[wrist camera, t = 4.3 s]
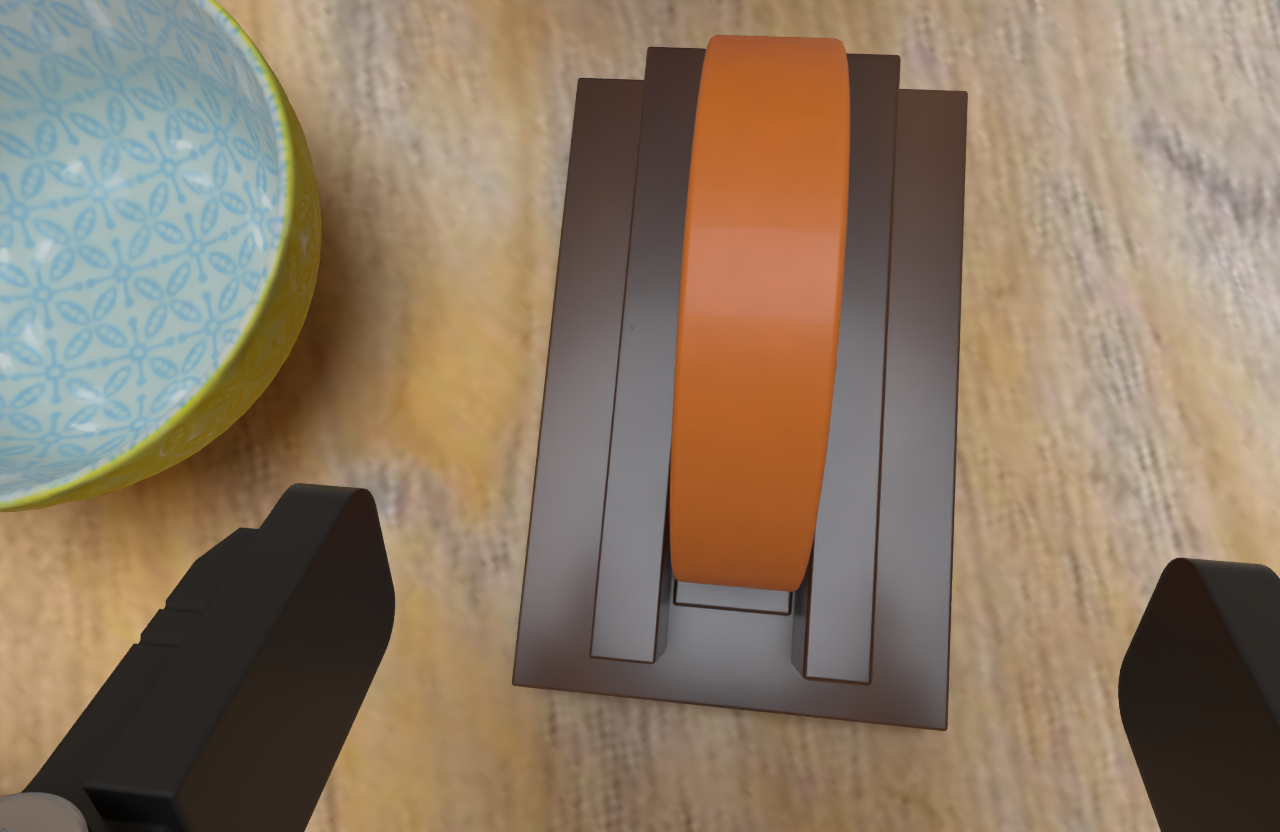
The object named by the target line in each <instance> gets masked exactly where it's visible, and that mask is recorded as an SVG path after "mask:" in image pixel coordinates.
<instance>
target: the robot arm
mask: <svg viewBox="0 0 1280 832" xmlns="http://www.w3.org/2000/svg"><path fill="white" fill-rule="evenodd" d="M394 615H395V592H394V586H393V582H392V577H391V573H390V568H389V564H388V559H387V554H386V550H385V545H384V541H383V536H382V531H381V527H380V522H379V518H378V513H377V508H376V504H375V501H374V498H373V496H372V494H371V493H370V492H369V491H368V490H367V489H363V488H351V487H339V486H327V485H314V484H302V483H298V484H294V485H292V486H290V487H289V488H288V489H287V490H286V491H285V492H284V494H283V495H282V496H281V498H280V499H279V501H278V502H277V504H276V505H275V507H274V508H273V509H272V511H271V512H270V514H269V515H268V517H267V518H266V520H265V521H264V523H263V524H262V525H261V527H260V528H259V529H250V528H239V529H237V530H236V531H235V532H233V533H232V534H231V535H229V536H228V537H227V538H225V539H224V540H223V541H221V542H220V543H219V544H217V545H216V546H214V547H213V548H212V549H210V550H209V551H208V552H206V553H205V554H204V555H202V556H201V557H200V558H198V559H197V560H196V561H195V562H194V563H193V565H192V566H191V567H190V569H189V570H188V571H187V573H186V574H185V575H184V577H183V578H182V579H181V581H180V582H179V584H178V585H177V586H176V588H175V589H174V590H173V592H172V593H171V594H170V596H169V597H168V598H167V600H166V606H165V608H164V609H159V610H158V612H157V613H156V615H155V616H154V617H153V619H152V620H151V621H150V623H149V624H148V625H147V627H146V628H145V629H144V631H143V632H142V633H141V640H140V642H139V644H133V646H132V647H131V648H130V650H129V651H128V652H127V654H126V655H125V656H124V658H123V659H122V660H121V662H120V663H119V664H118V666H117V667H116V668H115V670H114V671H113V673H112V674H111V675H110V677H109V678H108V679H107V681H106V682H105V683H104V685H103V686H102V687H101V689H100V690H99V691H98V693H97V694H96V695H95V697H94V698H93V699H92V701H91V702H90V704H89V705H88V706H87V708H86V709H85V710H84V712H83V713H82V714H81V716H80V717H79V718H78V720H77V721H76V722H75V724H74V725H73V726H72V728H71V729H70V730H69V732H68V733H67V735H66V736H65V737H64V739H63V740H62V741H61V743H60V744H59V745H58V747H57V748H56V749H55V751H54V752H53V753H52V755H51V756H50V757H49V759H48V760H47V762H46V763H45V764H44V766H43V767H42V768H41V770H40V771H39V772H38V774H37V775H36V776H35V777H34V778H33V780H32V781H31V782H30V783H29V784H28V786H27V787H26V788H25V789H24V790H23V791H22V792H21V793H17V794H13V795H8V796H3V797H0V832H304V831H305V829H306V827H307V824H308V822H309V820H310V818H311V816H312V813H313V811H314V809H315V807H316V804H317V802H318V800H319V798H320V796H321V793H322V791H323V789H324V787H325V784H326V782H327V780H328V778H329V776H330V773H331V771H332V769H333V767H334V764H335V762H336V760H337V758H338V756H339V753H340V751H341V749H342V747H343V744H344V742H345V740H346V738H347V736H348V733H349V731H350V729H351V727H352V724H353V722H354V720H355V718H356V716H357V713H358V711H359V709H360V707H361V704H362V702H363V700H364V698H365V696H366V693H367V691H368V689H369V687H370V684H371V682H372V680H373V678H374V676H375V673H376V671H377V669H378V667H379V664H380V662H381V660H382V658H383V656H384V653H385V651H386V649H387V646H388V643H389V640H390V637H391V633H392V628H393V623H394ZM1118 698H1119V708H1120V714H1121V719H1122V723H1123V726H1124V729H1125V732H1126V735H1127V738H1128V740H1129V743H1130V746H1131V749H1132V752H1133V754H1134V757H1135V760H1136V763H1137V766H1138V768H1139V771H1140V774H1141V777H1142V780H1143V782H1144V785H1145V788H1146V791H1147V794H1148V796H1149V799H1150V802H1151V805H1152V808H1153V811H1154V813H1155V816H1156V819H1157V822H1158V825H1159V827H1160V830H1161V832H1280V579H1279V577H1278V576H1277V575H1276V573H1275V572H1273V571H1272V570H1271V569H1270V568H1268V567H1267V566H1264V565H1261V564H1250V563H1238V562H1226V561H1214V560H1202V559H1189V558H1176V559H1174V560H1172V561H1171V562H1170V563H1168V565H1167V566H1166V567H1165V569H1164V571H1163V572H1162V574H1161V577H1160V579H1159V581H1158V583H1157V586H1156V588H1155V590H1154V592H1153V594H1152V597H1151V599H1150V601H1149V603H1148V606H1147V608H1146V610H1145V612H1144V615H1143V617H1142V619H1141V621H1140V624H1139V626H1138V628H1137V630H1136V632H1135V635H1134V637H1133V639H1132V641H1131V644H1130V646H1129V648H1128V650H1127V653H1126V655H1125V657H1124V660H1123V662H1122V665H1121V669H1120V675H1119V685H1118Z"/></svg>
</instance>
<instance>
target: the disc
mask: <svg viewBox="0 0 1280 832" xmlns="http://www.w3.org/2000/svg"><path fill="white" fill-rule="evenodd" d="M849 162H850V85H849V70H848V61H847V55H846V51H845V47H844V45H843V42H842V41H840V40H838V39H835V38H801V37H767V36H733V35H716V36H714V37H712V38H711V39H710V41H709V44H708V46H707V49H706V53H705V58H704V62H703V68H702V74H701V80H700V86H699V93H698V101H697V108H696V116H695V125H694V133H693V142H692V152H691V161H690V171H689V181H688V192H687V203H686V214H685V226H684V238H683V251H682V263H681V277H680V291H679V305H678V321H677V337H676V353H675V372H674V391H673V413H672V437H671V469H670V552H671V565H672V570H673V574H674V577H675V579H676V580H678V581H680V582H688V583H699V584H710V585H721V586H731V587H742V588H753V589H764V590H775V591H786V592H793V591H796V590H797V589H798V588H799V586H800V584H801V582H802V580H803V578H804V575H805V572H806V569H807V565H808V561H809V557H810V553H811V548H812V544H813V538H814V533H815V527H816V522H817V516H818V510H819V503H820V497H821V491H822V484H823V476H824V469H825V462H826V454H827V446H828V438H829V429H830V421H831V412H832V403H833V393H834V383H835V374H836V364H837V353H838V341H839V330H840V319H841V306H842V293H843V280H844V265H845V249H846V233H847V213H848V192H849Z"/></svg>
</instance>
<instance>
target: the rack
mask: <svg viewBox="0 0 1280 832" xmlns="http://www.w3.org/2000/svg"><path fill="white" fill-rule="evenodd" d="M705 53H706V49H700V48H668V47H648V49H647V58H646V68H645V79H644V80H627V79H598V78H579V79H578V83H577V92H576V101H575V111H574V120H573V129H572V138H571V147H570V156H569V165H568V175H567V184H566V193H565V202H564V211H563V220H562V229H561V239H560V248H559V257H558V266H557V275H556V284H555V293H554V303H553V312H552V321H551V330H550V339H549V348H548V357H547V366H546V376H545V385H544V394H543V403H542V412H541V421H540V430H539V440H538V449H537V458H536V467H535V476H534V485H533V494H532V504H531V513H530V522H529V531H528V540H527V549H526V558H525V568H524V577H523V586H522V595H521V604H520V613H519V622H518V632H517V641H516V650H515V659H514V668H513V677H512V685H514V686H521V687H530V688H540V689H549V690H559V691H568V692H578V693H587V694H597V695H606V696H616V697H625V698H635V699H644V700H654V701H663V702H673V703H682V704H692V705H701V706H711V707H720V708H730V709H739V710H749V711H758V712H768V713H777V714H787V715H796V716H806V717H815V718H825V719H834V720H844V721H853V722H863V723H872V724H882V725H891V726H901V727H910V728H920V729H929V730H939V731H946V730H947V726H948V695H949V664H950V633H951V601H952V570H953V539H954V508H955V477H956V446H957V414H958V383H959V352H960V321H961V290H962V258H963V227H964V196H965V165H966V134H967V103H968V93H967V92H966V91H944V90H915V89H899V83H900V61H901V59H900V56H898V55H877V54H846V55H847V61H848V70H849V85H850V162H849V192H848V213H847V233H846V249H845V265H844V280H843V293H842V306H841V319H840V330H839V341H838V353H837V364H836V374H835V383H834V393H833V403H832V412H831V421H830V429H829V438H828V446H827V454H826V462H825V469H824V476H823V484H822V491H821V497H820V503H819V510H818V516H817V522H816V527H815V533H814V538H813V544H812V548H811V553H810V557H809V561H808V565H807V569H806V572H805V575H804V578H803V580H802V582H801V584H800V586H799V588H798V589H797V590H796V591H793V592H786V591H775V590H764V589H753V588H742V587H731V586H721V585H710V584H699V583H688V582H680V581H678V580H676V579H675V577H674V574H673V570H672V565H671V552H670V469H671V437H672V413H673V391H674V372H675V353H676V337H677V321H678V305H679V291H680V277H681V263H682V251H683V238H684V226H685V214H686V203H687V192H688V181H689V171H690V161H691V152H692V142H693V133H694V125H695V116H696V108H697V101H698V93H699V86H700V80H701V74H702V68H703V62H704V58H705Z"/></svg>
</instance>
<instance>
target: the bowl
mask: <svg viewBox="0 0 1280 832" xmlns="http://www.w3.org/2000/svg"><path fill="white" fill-rule="evenodd" d="M320 251H321V211H320V203H319V195H318V188H317V183H316V178H315V174H314V169H313V165H312V160H311V156H310V153H309V149H308V146H307V142H306V139H305V136H304V133H303V130H302V128H301V125H300V123H299V121H298V118H297V116H296V114H295V112H294V110H293V108H292V106H291V104H290V102H289V100H288V98H287V96H286V94H285V92H284V89H283V87H282V86H281V84H280V82H279V80H278V79H277V77H276V75H275V74H274V72H273V71H272V69H271V68H270V66H269V65H268V63H267V62H266V60H265V59H264V57H263V56H262V54H261V53H260V51H259V50H258V48H257V47H256V46H255V44H254V43H253V42H252V40H251V39H250V37H249V36H248V35H247V34H246V33H245V32H244V30H243V29H242V28H241V27H240V25H239V24H238V23H237V21H236V20H235V19H234V18H233V17H232V16H231V15H230V14H229V13H228V12H227V11H226V10H224V9H223V8H222V7H221V6H220V5H219V4H218V3H217V2H216V1H215V0H0V512H15V511H24V510H33V509H41V508H46V507H49V506H53V505H56V504H60V503H66V502H73V501H81V500H86V499H90V498H93V497H97V496H101V495H104V494H107V493H110V492H113V491H116V490H119V489H122V488H125V487H128V486H130V485H132V484H134V483H137V482H139V481H141V480H144V479H146V478H149V477H151V476H154V475H156V474H159V473H161V472H163V471H165V470H167V469H168V468H170V467H172V466H174V465H176V464H178V463H180V462H182V461H183V460H185V459H187V458H188V457H190V456H192V455H193V454H195V453H197V452H198V451H200V450H201V449H202V448H204V447H205V446H206V445H208V444H209V443H210V442H212V441H213V440H214V439H216V438H217V437H218V436H220V435H221V434H222V433H224V432H225V431H226V430H227V429H228V428H230V427H231V426H232V424H233V423H234V422H236V421H237V420H238V419H239V418H240V417H241V416H242V415H243V414H245V413H246V411H247V410H248V409H249V408H250V407H251V406H252V405H253V404H254V403H255V402H256V400H257V399H258V398H259V397H260V396H261V395H262V394H263V392H264V391H265V390H266V389H267V387H268V386H269V385H270V383H271V382H272V381H273V379H274V378H275V376H276V375H277V373H278V371H279V370H280V368H281V367H282V365H283V363H284V362H285V360H286V359H287V358H288V356H289V354H290V352H291V350H292V348H293V346H294V344H295V342H296V340H297V338H298V336H299V334H300V331H301V329H302V327H303V324H304V322H305V320H306V317H307V313H308V310H309V307H310V304H311V301H312V297H313V293H314V290H315V286H316V279H317V273H318V268H319V263H320Z"/></svg>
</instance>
